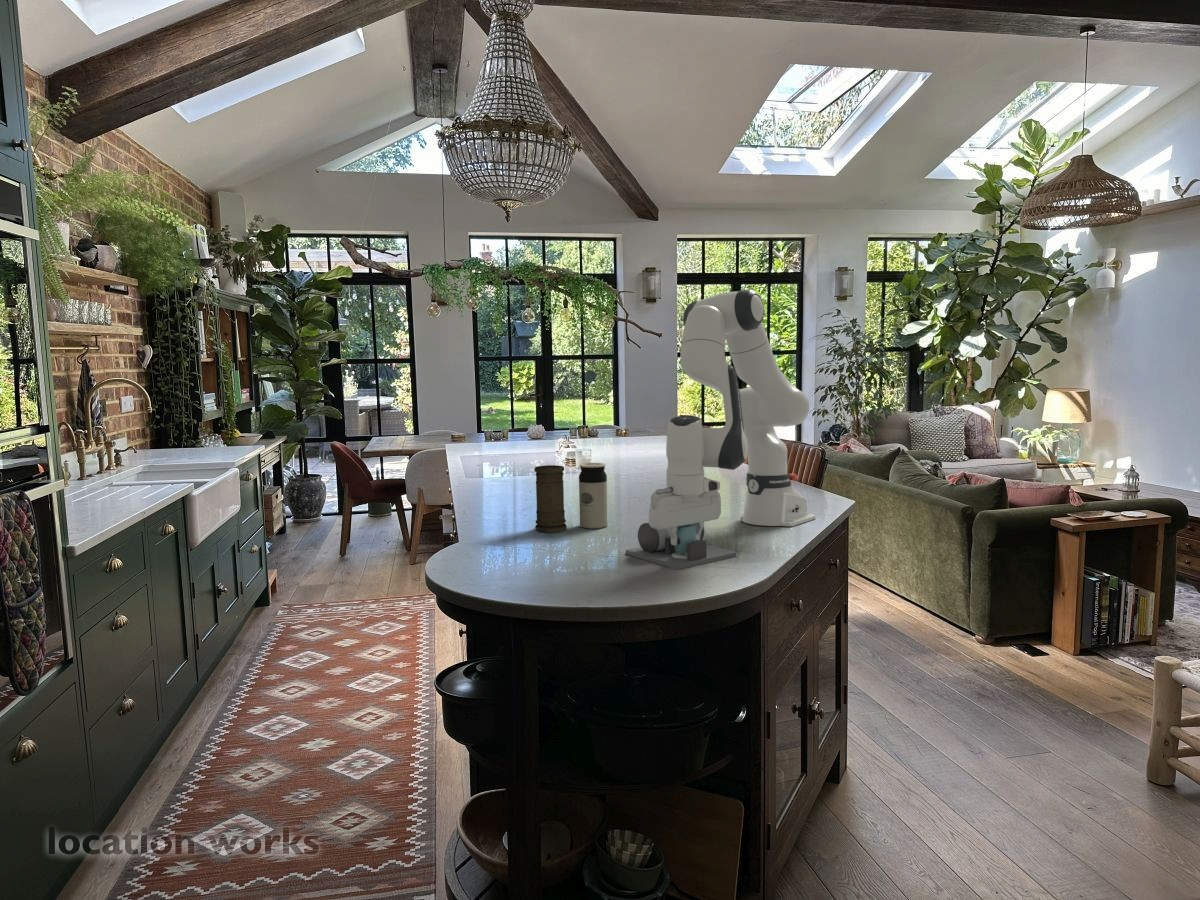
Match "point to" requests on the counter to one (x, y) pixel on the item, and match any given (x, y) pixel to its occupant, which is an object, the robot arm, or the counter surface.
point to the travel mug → (593, 495)
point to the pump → (685, 537)
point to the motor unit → (663, 553)
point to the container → (550, 499)
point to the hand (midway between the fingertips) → (685, 542)
